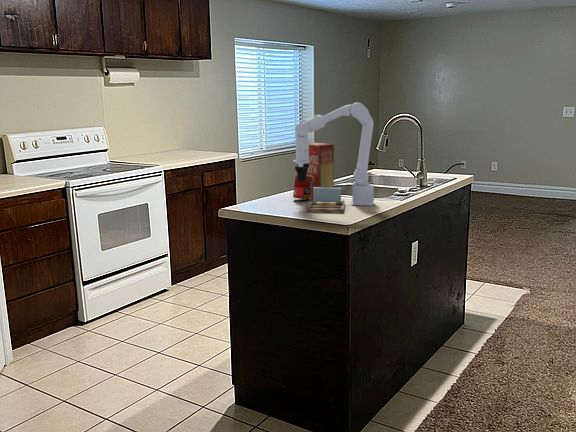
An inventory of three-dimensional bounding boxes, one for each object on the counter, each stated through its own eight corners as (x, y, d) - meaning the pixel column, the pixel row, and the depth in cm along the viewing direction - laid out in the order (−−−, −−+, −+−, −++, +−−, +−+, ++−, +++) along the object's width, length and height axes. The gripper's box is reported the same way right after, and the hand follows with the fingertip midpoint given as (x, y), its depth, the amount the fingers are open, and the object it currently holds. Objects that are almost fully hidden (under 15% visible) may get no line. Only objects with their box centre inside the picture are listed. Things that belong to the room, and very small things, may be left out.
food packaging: (301, 195, 275) (301, 143, 270) (316, 193, 281) (316, 142, 275) (319, 199, 265) (319, 145, 259) (334, 196, 270) (335, 143, 265)
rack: (344, 204, 252) (344, 201, 251) (343, 213, 234) (343, 209, 234) (310, 204, 253) (310, 200, 253) (307, 212, 236) (307, 208, 236)
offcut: (335, 208, 244) (336, 201, 244) (335, 210, 242) (335, 203, 241) (317, 208, 246) (317, 201, 245) (316, 209, 243) (316, 202, 242)
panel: (340, 205, 250) (341, 187, 248) (340, 206, 248) (341, 188, 246) (313, 205, 252) (313, 187, 250) (313, 206, 250) (313, 188, 248)
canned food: (305, 198, 257) (309, 174, 257) (289, 196, 260) (293, 173, 260) (312, 200, 264) (315, 176, 264) (296, 198, 267) (299, 174, 267)
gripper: (295, 148, 258) (295, 178, 261) (291, 152, 244) (291, 183, 247) (310, 148, 257) (310, 178, 260) (307, 152, 243) (307, 183, 246)
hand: (302, 181), depth 253 cm, fingers open, 7 cm apart
